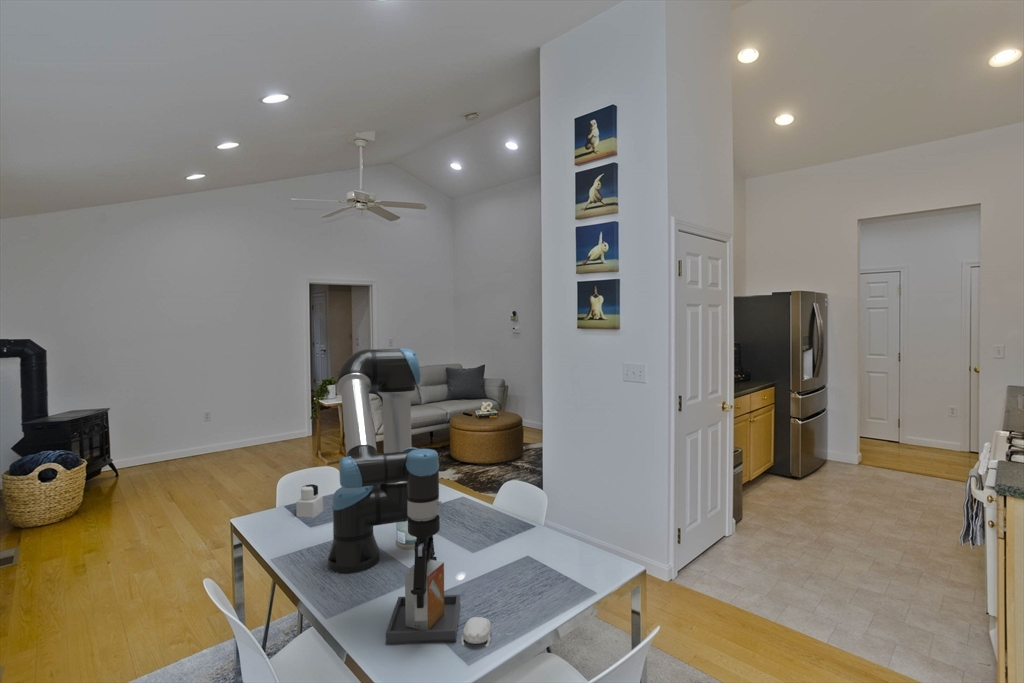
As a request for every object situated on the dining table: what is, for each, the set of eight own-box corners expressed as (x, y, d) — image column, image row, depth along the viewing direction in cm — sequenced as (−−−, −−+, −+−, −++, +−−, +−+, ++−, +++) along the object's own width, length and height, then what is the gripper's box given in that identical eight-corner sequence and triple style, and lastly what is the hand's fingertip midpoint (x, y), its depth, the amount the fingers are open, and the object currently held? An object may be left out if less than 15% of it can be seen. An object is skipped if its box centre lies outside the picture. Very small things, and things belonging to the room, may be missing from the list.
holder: (385, 644, 112) (385, 633, 112) (398, 606, 128) (398, 596, 128) (455, 641, 113) (455, 630, 113) (460, 604, 128) (459, 594, 128)
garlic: (488, 650, 110) (488, 633, 110) (458, 649, 111) (458, 632, 111) (494, 629, 118) (493, 613, 118) (465, 627, 119) (465, 611, 119)
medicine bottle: (306, 513, 195) (305, 482, 195) (323, 514, 194) (323, 483, 194) (296, 520, 188) (295, 488, 188) (313, 520, 187) (313, 489, 187)
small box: (428, 632, 116) (427, 576, 115) (404, 626, 118) (403, 572, 118) (445, 613, 123) (444, 561, 123) (423, 609, 125) (422, 557, 125)
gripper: (433, 536, 108) (434, 634, 108) (444, 497, 132) (445, 577, 133) (398, 537, 107) (399, 635, 108) (415, 498, 132) (417, 578, 133)
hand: (425, 603), depth 120 cm, fingers open, 13 cm apart
